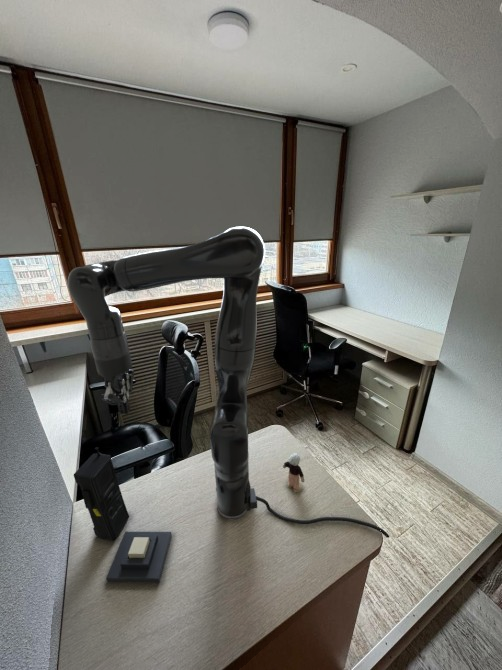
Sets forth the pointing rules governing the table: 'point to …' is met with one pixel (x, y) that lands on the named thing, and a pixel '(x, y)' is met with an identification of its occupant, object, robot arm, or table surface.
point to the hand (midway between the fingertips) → (125, 412)
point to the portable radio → (102, 496)
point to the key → (139, 547)
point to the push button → (140, 559)
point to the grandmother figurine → (294, 472)
